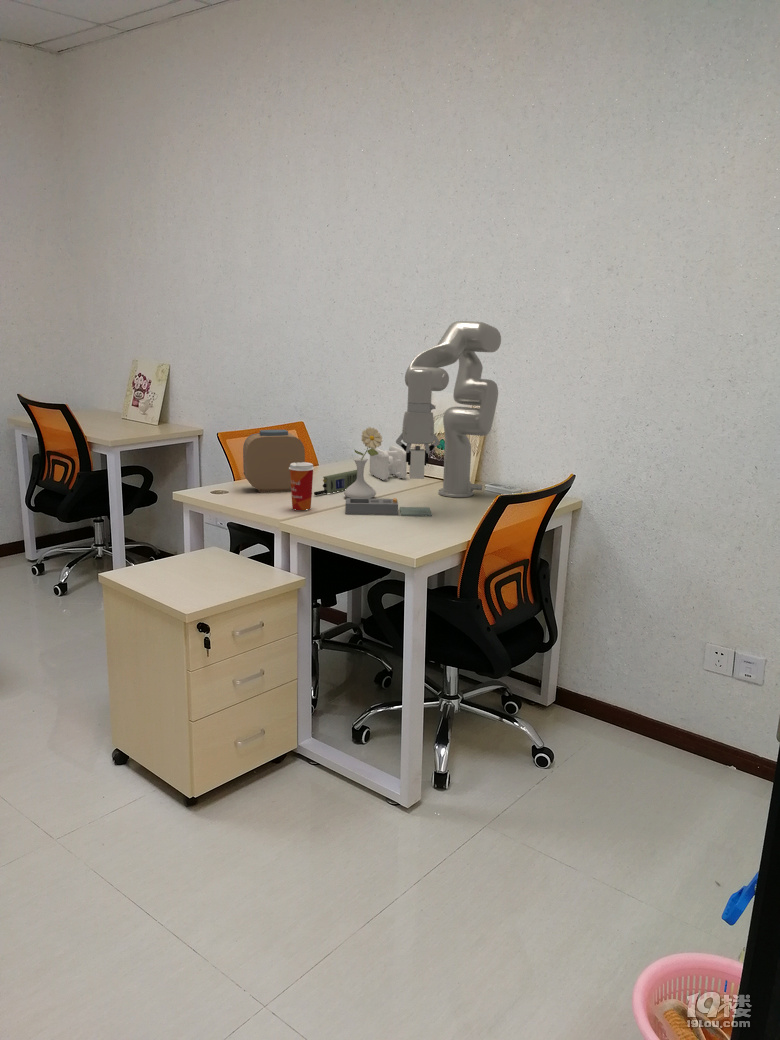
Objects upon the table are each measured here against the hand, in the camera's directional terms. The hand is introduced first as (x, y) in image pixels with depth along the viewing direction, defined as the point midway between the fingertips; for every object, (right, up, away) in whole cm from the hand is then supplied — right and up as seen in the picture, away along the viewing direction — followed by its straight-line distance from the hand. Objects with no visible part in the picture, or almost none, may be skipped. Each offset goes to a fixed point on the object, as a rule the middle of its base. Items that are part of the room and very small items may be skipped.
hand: (417, 464), depth 269 cm
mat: (0, -16, +4) cm, 16 cm away
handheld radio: (-28, -8, +33) cm, 44 cm away
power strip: (-15, -15, +4) cm, 22 cm away
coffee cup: (-38, -15, +5) cm, 41 cm away
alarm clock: (-51, -7, +32) cm, 61 cm away
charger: (0, -4, +1) cm, 4 cm away
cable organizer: (-10, -2, +59) cm, 60 cm away
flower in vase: (-19, -11, +23) cm, 31 cm away
